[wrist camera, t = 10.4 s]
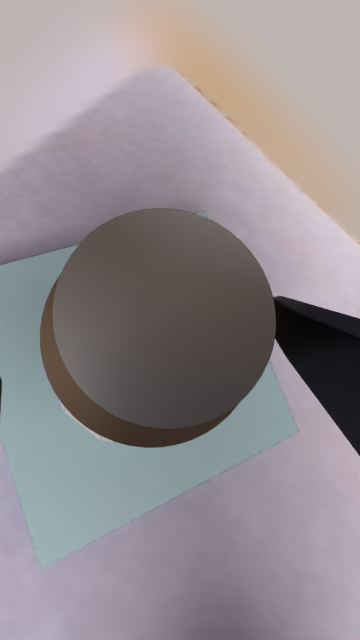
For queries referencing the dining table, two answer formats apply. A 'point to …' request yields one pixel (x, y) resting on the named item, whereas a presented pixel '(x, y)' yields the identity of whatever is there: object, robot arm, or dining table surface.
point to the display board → (81, 460)
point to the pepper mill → (157, 328)
